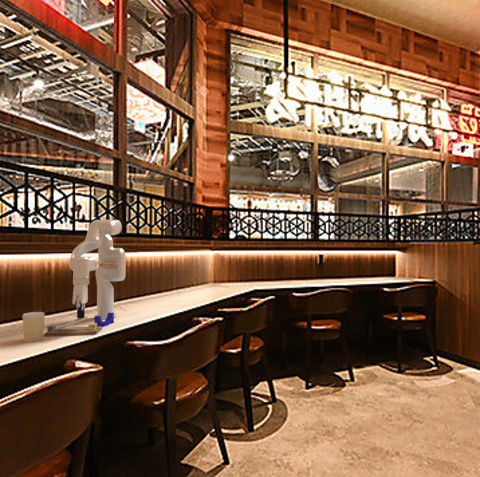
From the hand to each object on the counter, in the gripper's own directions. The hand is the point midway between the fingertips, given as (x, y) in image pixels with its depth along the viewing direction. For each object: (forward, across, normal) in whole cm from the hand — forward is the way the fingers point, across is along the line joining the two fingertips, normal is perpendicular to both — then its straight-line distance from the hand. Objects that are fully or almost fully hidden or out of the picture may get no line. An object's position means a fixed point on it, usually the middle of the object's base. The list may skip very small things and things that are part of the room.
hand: (80, 317), depth 186 cm
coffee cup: (+8, +10, -18) cm, 22 cm away
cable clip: (+7, -18, +8) cm, 21 cm away
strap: (+3, -1, -5) cm, 6 cm away
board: (+7, -1, -3) cm, 8 cm away
